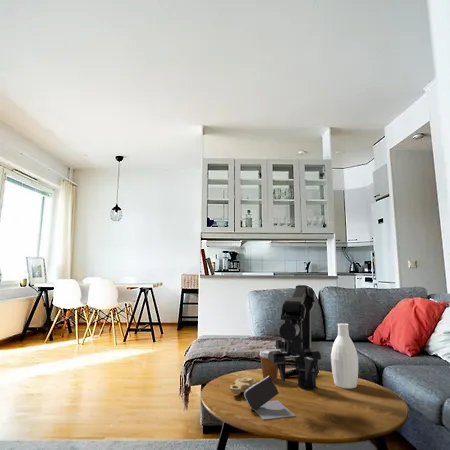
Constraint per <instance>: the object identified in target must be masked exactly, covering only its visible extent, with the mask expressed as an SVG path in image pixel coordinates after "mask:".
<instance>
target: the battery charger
mask: <svg viewBox="0 0 450 450" xmlns="http://www.w3.org/2000/svg"><path fill="white" fill-rule="evenodd" d="M274 382H275V381H272V379H271V377H270V376H267V377H266V378H264V379H263V378H262V379H261V380H260V381H258V382H256V384H255V385H254V384H253V385H252V386H250V387H249V388H248V389H246V390H245V391H244V392H243V396H244V400H245V401H246V403H247V404H248V406H249V408H250V409H251V410H252V411H253V410H256V409H258V408H259V407H261V406H262V405H264V404H265V403H266V402H268V401H271V400H272V399H273V398H274V397H276V396H277V395H279V394H280V393H279V391H278V389H277V388H278V387H277V386H276V383H274Z"/></svg>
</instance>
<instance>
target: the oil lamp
mask: <svg viewBox="0 0 450 450" xmlns="http://www.w3.org/2000/svg"><path fill="white" fill-rule="evenodd" d="M256 383H257V380H256V379H254V378H253V377H252V376H249V375H241V376H239V377H238V378H236V379H235V381H233V384H230V385H229V389H230V392H231V393H232V394H234V395H238V394H241V393H244V391H245V390H246V389H248V388H249V387H250V386H252V385H253V384H254V385H255V384H256Z"/></svg>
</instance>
